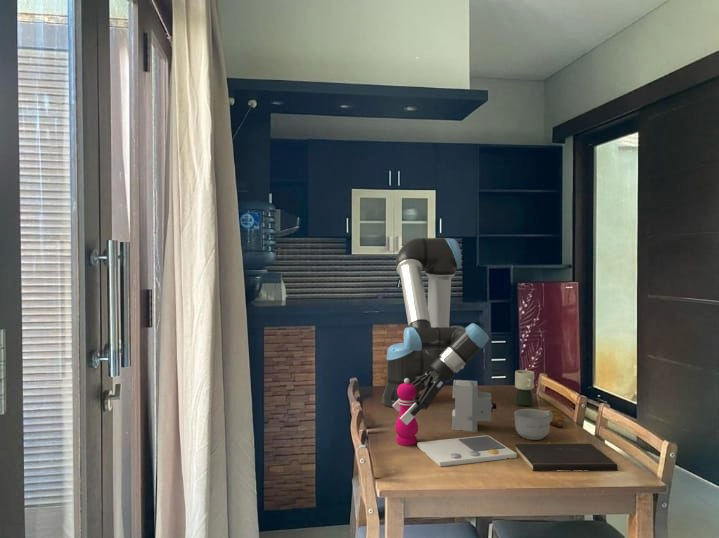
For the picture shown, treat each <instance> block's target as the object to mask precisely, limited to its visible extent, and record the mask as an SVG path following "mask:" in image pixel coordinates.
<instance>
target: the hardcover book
mask: <svg viewBox="0 0 719 538" xmlns="http://www.w3.org/2000/svg"><path fill="white" fill-rule="evenodd" d="M514 446H515V452H516V453H518V454H519V455H520V457H521V458H522V459H523V460H524V462H525V463H526V462H527V463H526V464H527V465H528V466H529V468H530V469H532V471H533V472H558V471H557V470H571V471H570V472H574V471H573V470H583V471H582V472H585V471H584V470H588V471H587V472H618V469H619V468H618V467H619V466H618V463H616V462H615V461H614V460H612V459H611V458H610V457H609V456H608V455H606V454H605V453H603V451H601V450H599V449H598V448H597V447H596V446H594V445H593V444H592V443H514Z"/></svg>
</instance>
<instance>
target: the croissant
mask: <svg viewBox="0 0 719 538" xmlns="http://www.w3.org/2000/svg"><path fill="white" fill-rule="evenodd" d="M548 411H551V412H552V415H553V418H552V421H551V422H550V423H549V425H550V424H551V425H552V426H553V427H557V428H561V429H562V428H563V427H564V425H565V417H564V415H563V412H562V411H560V410H557V409H555V408H552V409H549V410H548Z"/></svg>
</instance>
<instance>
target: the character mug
mask: <svg viewBox="0 0 719 538" xmlns="http://www.w3.org/2000/svg"><path fill="white" fill-rule="evenodd" d="M534 380H535V372H534V371H533V370H526V369H518V370H517V369H516V370H515V372H514V387H515V388H516V389H517V392H516V393H517V394H516V398H515V399H516V400H515V404H516V405H519V406H525V407H527V406H533V403H534V402H533V394H532V390H533V389H534V388H535V383H534V382H535V381H534Z"/></svg>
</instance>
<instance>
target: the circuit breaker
mask: <svg viewBox="0 0 719 538" xmlns="http://www.w3.org/2000/svg"><path fill="white" fill-rule="evenodd" d="M478 387H479V386H478V381H477V380H463V379H462V380H461V379H453V384H452V395H451V396H452V397H451V398H452V399H454V409H452V415H451V416H452V417H451V430H452V431H459V430H463V431H464V432H474V431H477V432H478V421H481V422H492V413H493V410H497V403H495V402H493V400H492V393H491V392H485V391H478V389H479V388H478ZM453 429H455V430H453ZM463 431H462V432H463Z"/></svg>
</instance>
